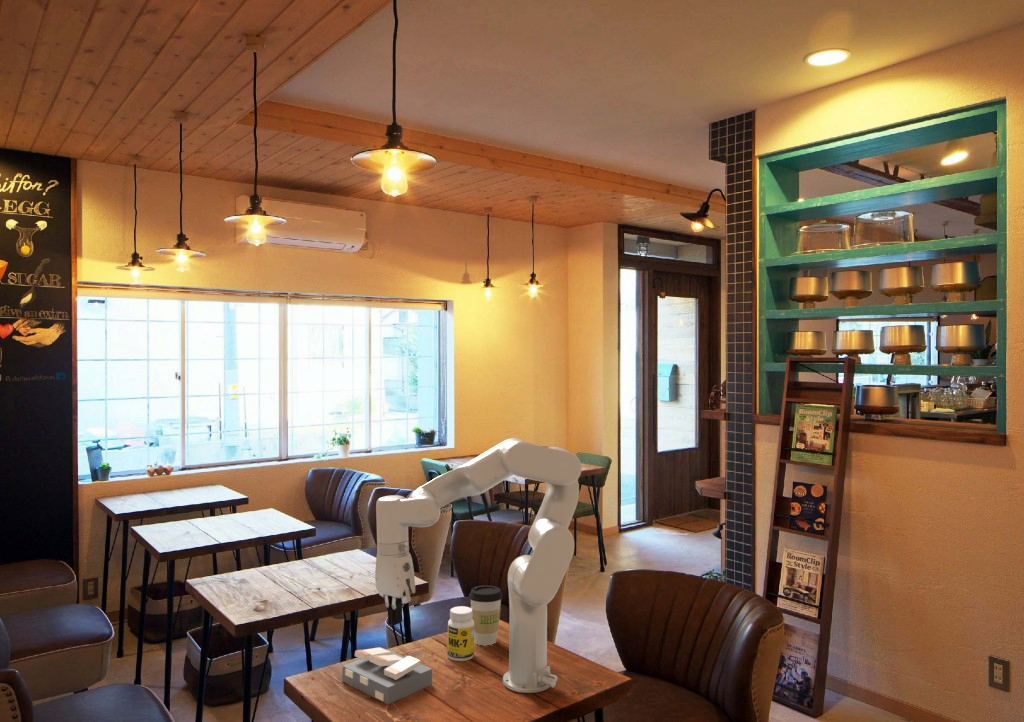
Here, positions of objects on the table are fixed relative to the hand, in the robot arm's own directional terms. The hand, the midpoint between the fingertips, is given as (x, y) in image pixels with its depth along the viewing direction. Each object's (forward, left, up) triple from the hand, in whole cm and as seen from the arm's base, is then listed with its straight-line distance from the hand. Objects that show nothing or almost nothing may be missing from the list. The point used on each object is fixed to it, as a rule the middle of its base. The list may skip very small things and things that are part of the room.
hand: (395, 623), depth 172 cm
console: (+6, -3, -17) cm, 19 cm away
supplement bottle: (+4, -27, -18) cm, 32 cm away
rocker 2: (+6, -3, -12) cm, 14 cm away
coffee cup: (+6, -39, -18) cm, 43 cm away
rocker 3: (0, -3, -12) cm, 13 cm away
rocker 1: (+12, -3, -12) cm, 18 cm away
